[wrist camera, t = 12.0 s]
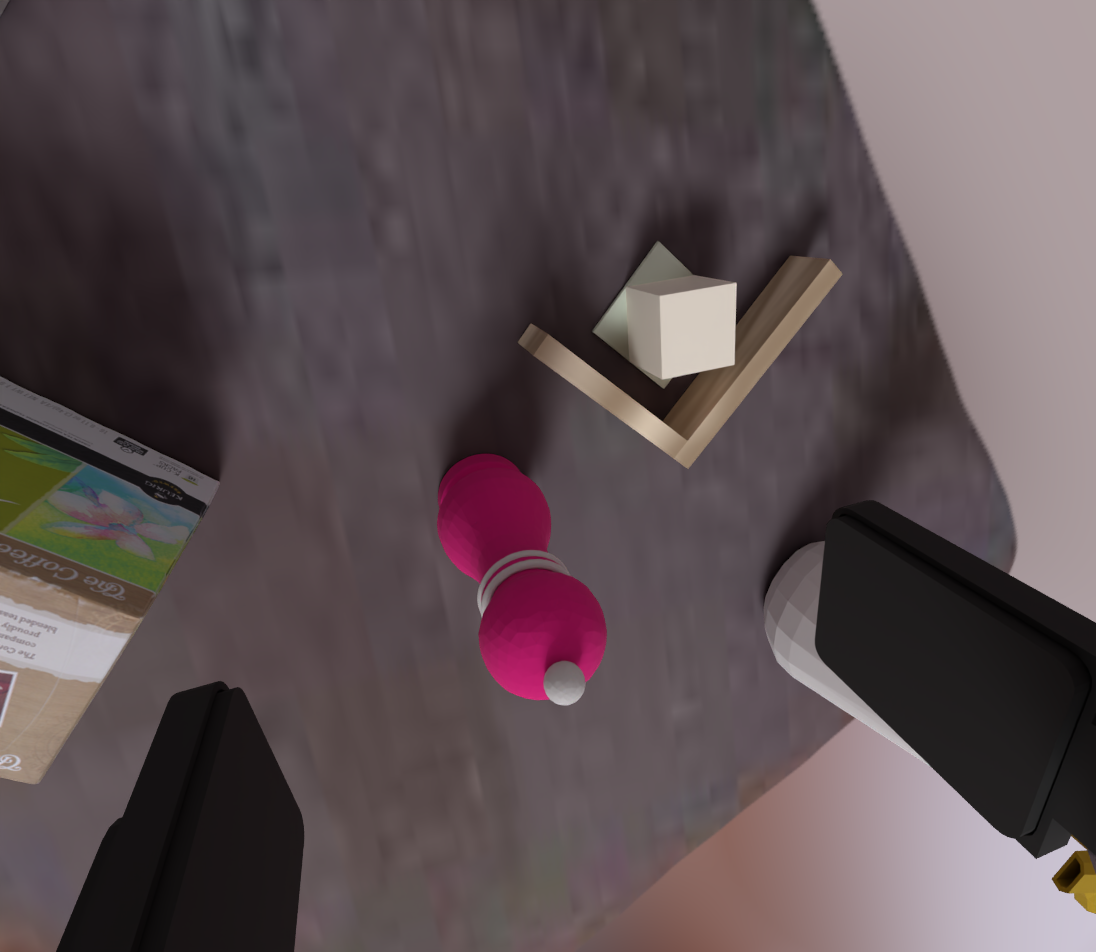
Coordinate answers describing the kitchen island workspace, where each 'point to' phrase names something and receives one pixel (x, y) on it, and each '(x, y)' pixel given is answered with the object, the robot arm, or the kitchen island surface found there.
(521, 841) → the kitchen island surface
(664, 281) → the cube
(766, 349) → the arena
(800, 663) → the soap bottle
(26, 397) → the tea box
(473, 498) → the pepper mill
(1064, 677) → the robot arm
